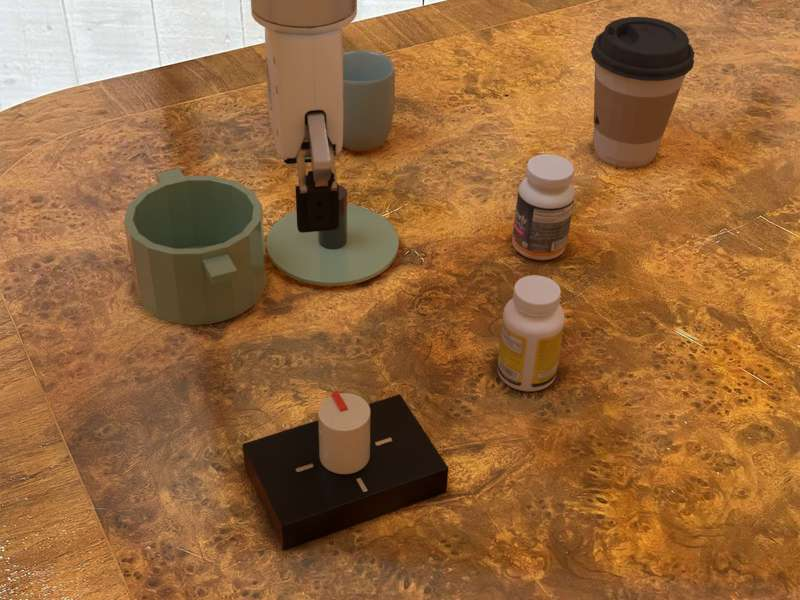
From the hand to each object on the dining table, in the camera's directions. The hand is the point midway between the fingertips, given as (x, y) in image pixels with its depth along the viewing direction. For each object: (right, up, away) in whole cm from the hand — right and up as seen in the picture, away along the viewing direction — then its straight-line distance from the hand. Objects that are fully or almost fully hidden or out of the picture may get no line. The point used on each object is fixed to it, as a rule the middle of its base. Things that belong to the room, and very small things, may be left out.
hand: (310, 193), depth 86 cm
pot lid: (0, -3, +24) cm, 24 cm away
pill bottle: (+22, -3, +26) cm, 34 cm away
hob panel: (+3, -23, +1) cm, 23 cm away
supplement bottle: (+19, -15, +11) cm, 27 cm away
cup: (+3, +10, +40) cm, 42 cm away
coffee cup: (+34, +9, +41) cm, 53 cm away
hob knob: (+3, -21, -1) cm, 21 cm away
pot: (-12, -7, +19) cm, 24 cm away
